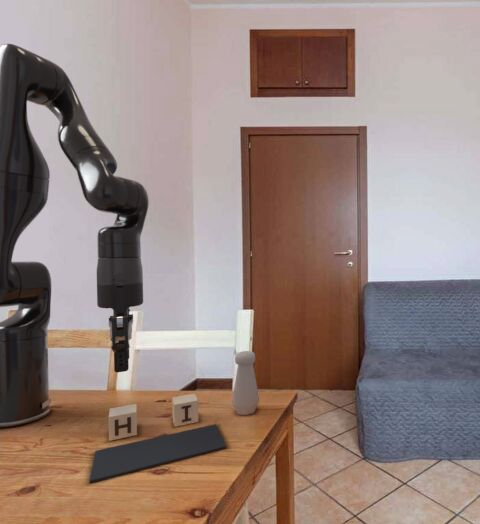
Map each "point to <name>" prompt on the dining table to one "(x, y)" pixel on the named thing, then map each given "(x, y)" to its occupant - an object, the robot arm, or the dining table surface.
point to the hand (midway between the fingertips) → (122, 365)
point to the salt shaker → (245, 384)
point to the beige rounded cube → (122, 422)
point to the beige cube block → (185, 409)
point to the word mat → (155, 452)
